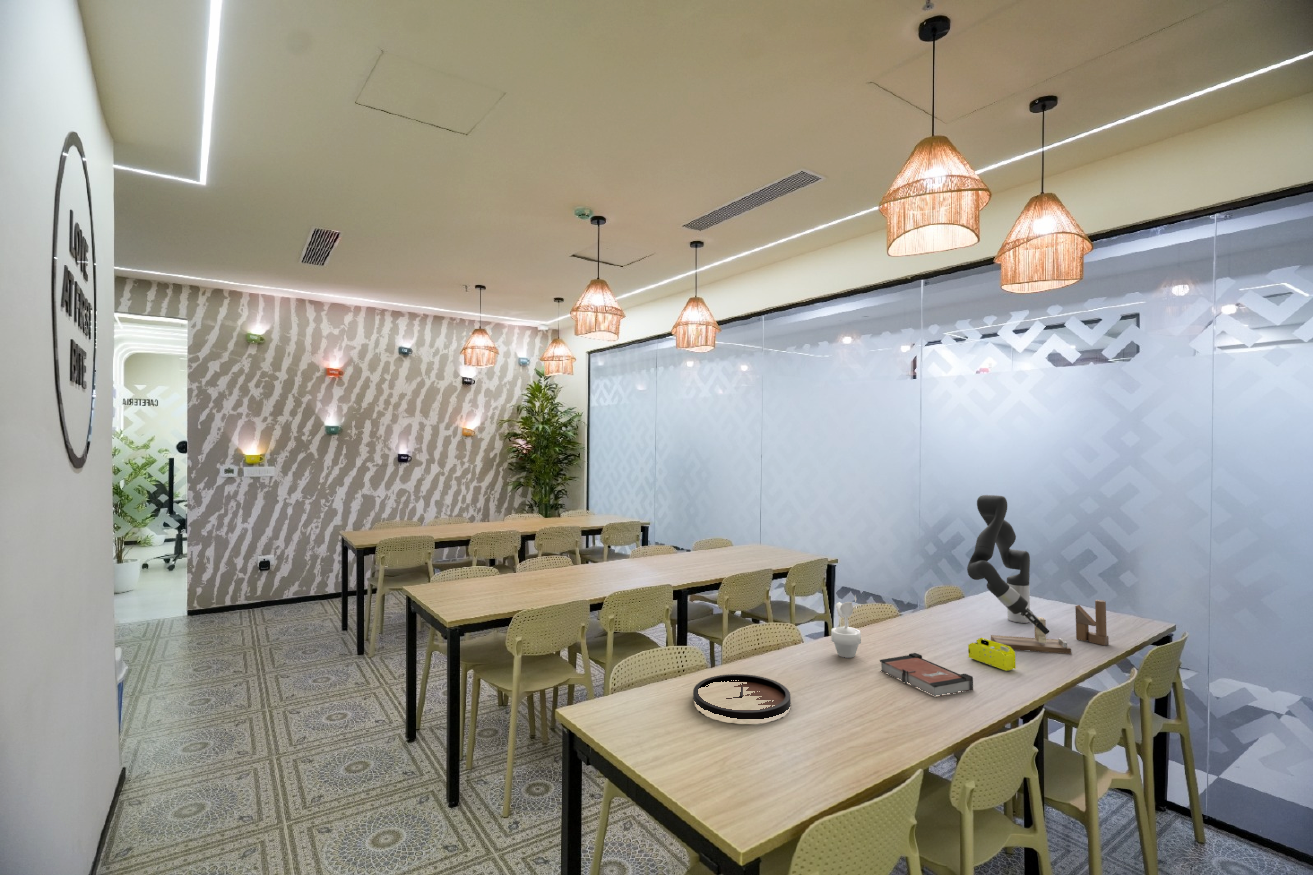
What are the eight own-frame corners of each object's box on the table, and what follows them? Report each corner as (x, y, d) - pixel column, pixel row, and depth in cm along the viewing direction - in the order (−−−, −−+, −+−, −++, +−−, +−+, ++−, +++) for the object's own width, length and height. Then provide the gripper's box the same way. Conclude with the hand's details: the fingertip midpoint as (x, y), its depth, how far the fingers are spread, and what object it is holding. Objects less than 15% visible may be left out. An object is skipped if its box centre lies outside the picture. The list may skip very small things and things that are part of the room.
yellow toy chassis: (1016, 670, 224) (1016, 648, 224) (1005, 673, 222) (1005, 650, 222) (978, 657, 239) (977, 636, 239) (968, 659, 237) (967, 638, 237)
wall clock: (759, 722, 176) (673, 695, 196) (759, 736, 176) (674, 707, 196) (807, 688, 200) (726, 667, 220) (807, 700, 200) (726, 678, 220)
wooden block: (1079, 637, 261) (1078, 595, 261) (1109, 644, 252) (1107, 600, 252) (1075, 639, 259) (1074, 597, 259) (1105, 646, 250) (1104, 602, 250)
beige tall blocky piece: (1033, 637, 252) (1032, 615, 252) (1041, 637, 251) (1041, 616, 251) (1038, 642, 245) (1038, 620, 245) (1047, 643, 244) (1046, 620, 245)
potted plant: (865, 660, 236) (864, 596, 237) (835, 660, 236) (834, 596, 237) (855, 649, 249) (854, 588, 249) (827, 650, 249) (826, 588, 250)
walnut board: (990, 639, 260) (990, 630, 260) (1060, 644, 253) (1060, 634, 253) (998, 648, 248) (998, 638, 248) (1071, 653, 241) (1071, 643, 241)
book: (878, 672, 225) (878, 658, 225) (915, 666, 231) (915, 652, 231) (933, 699, 201) (932, 684, 201) (973, 691, 207) (972, 676, 207)
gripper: (1024, 597, 243) (1059, 630, 240) (1013, 589, 257) (1047, 620, 253) (1009, 610, 245) (1044, 642, 241) (1000, 601, 258) (1033, 632, 255)
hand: (1045, 631), depth 247 cm, fingers closed on beige tall blocky piece, 3 cm apart
